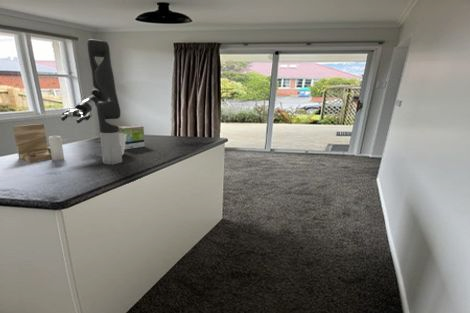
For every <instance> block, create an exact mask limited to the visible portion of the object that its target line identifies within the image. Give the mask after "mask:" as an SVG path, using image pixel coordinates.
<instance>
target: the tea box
mask: <svg viewBox="0 0 470 313" xmlns="http://www.w3.org/2000/svg"><path fill="white" fill-rule="evenodd" d="M117 126H118V128H119V133H123V134H126V141H125V148H124V151H125V150H130V149H137V148H143V147H145V132H144V131H145V128H144V126H141V125H137V124H134V125H121V126H119V125H117Z"/></svg>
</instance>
